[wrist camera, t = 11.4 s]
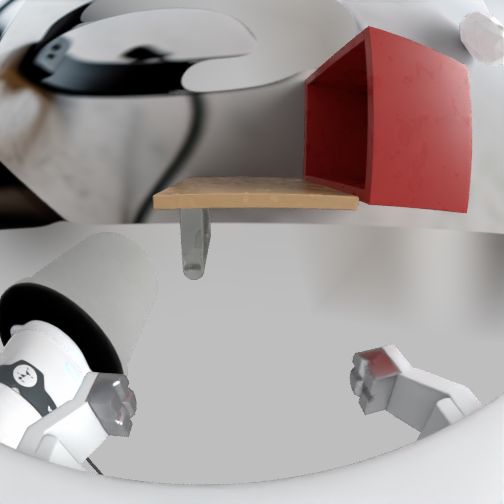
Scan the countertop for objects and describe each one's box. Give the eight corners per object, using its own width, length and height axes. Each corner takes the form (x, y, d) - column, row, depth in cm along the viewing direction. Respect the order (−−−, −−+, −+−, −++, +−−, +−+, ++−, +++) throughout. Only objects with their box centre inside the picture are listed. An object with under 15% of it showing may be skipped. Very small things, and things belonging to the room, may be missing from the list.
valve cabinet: (302, 181, 31) (369, 204, 16) (304, 80, 27) (368, 25, 12) (374, 186, 31) (467, 213, 17) (376, 93, 28) (467, 66, 13)
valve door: (295, 231, 32) (348, 291, 18) (189, 232, 31) (160, 296, 17) (297, 177, 30) (359, 197, 16) (188, 177, 29) (152, 195, 15)
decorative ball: (457, 15, 25) (515, 22, 15) (460, 65, 30) (519, 79, 21) (431, -5, 22) (497, -3, 12) (436, 51, 27) (505, 62, 18)
